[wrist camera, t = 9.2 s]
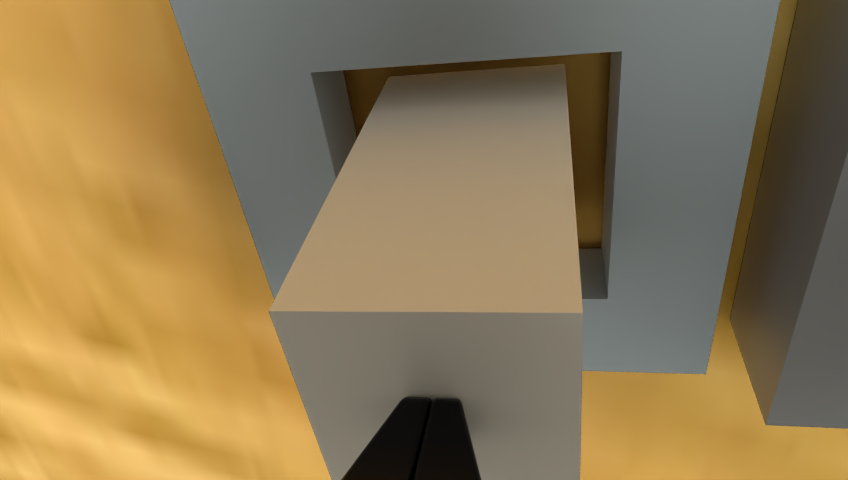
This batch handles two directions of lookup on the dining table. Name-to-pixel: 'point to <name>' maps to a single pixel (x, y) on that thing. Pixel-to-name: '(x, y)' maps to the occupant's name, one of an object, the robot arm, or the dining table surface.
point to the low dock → (509, 39)
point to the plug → (447, 274)
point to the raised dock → (802, 235)
